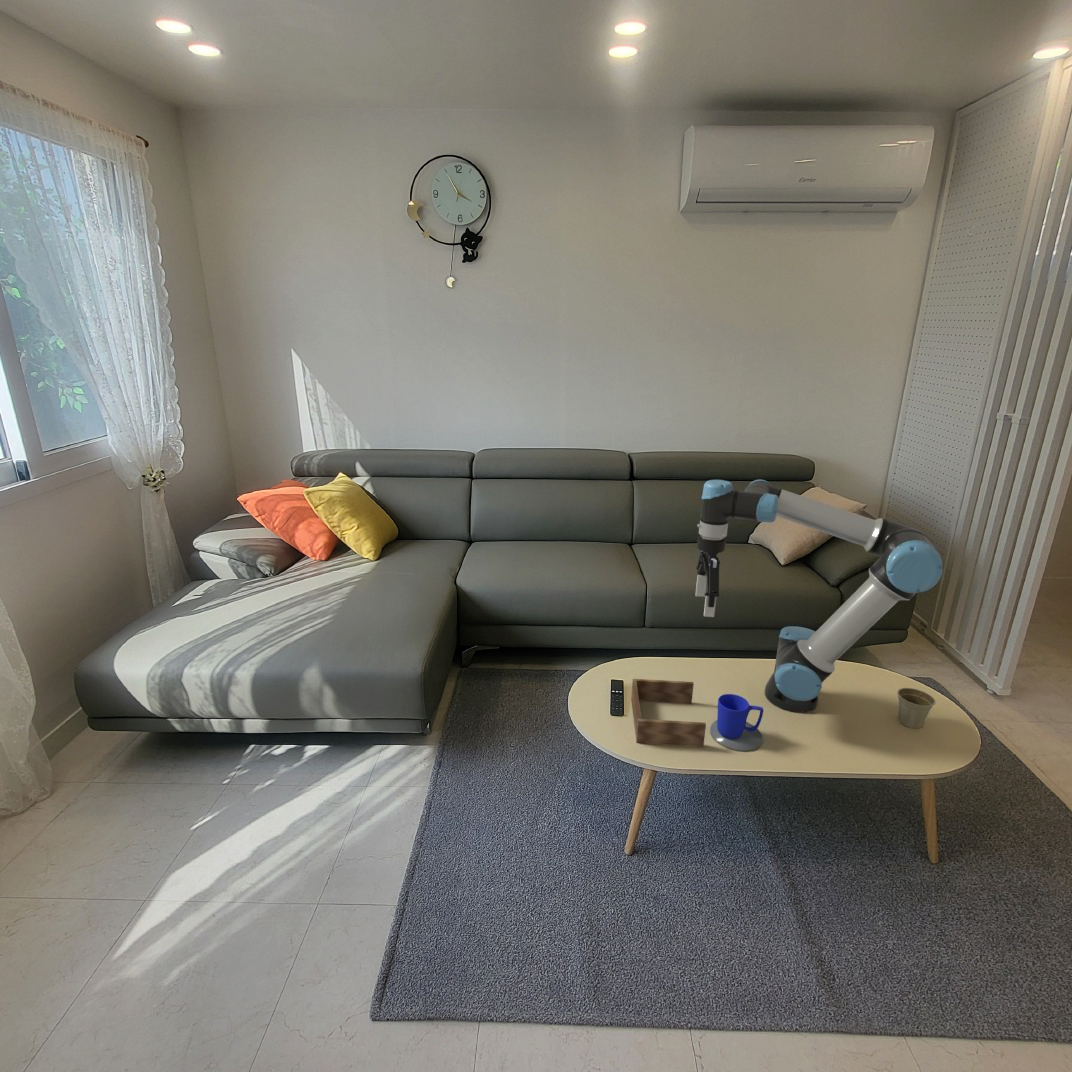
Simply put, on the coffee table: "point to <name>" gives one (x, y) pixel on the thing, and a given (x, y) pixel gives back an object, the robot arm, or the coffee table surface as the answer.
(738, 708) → the mug
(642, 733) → the u-shaped wooden frame
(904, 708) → the flower pot
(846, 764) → the coffee table surface
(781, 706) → the robot arm
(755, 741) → the grey round disc
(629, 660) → the coffee table surface
